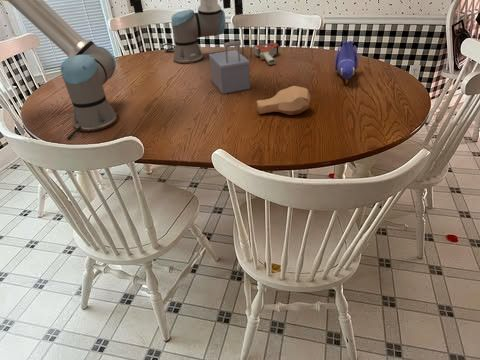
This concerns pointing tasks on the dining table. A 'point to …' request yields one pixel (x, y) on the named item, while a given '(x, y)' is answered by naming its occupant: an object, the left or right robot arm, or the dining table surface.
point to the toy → (346, 60)
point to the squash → (286, 101)
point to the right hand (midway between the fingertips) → (232, 11)
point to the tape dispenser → (266, 52)
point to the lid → (229, 56)
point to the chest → (230, 77)
